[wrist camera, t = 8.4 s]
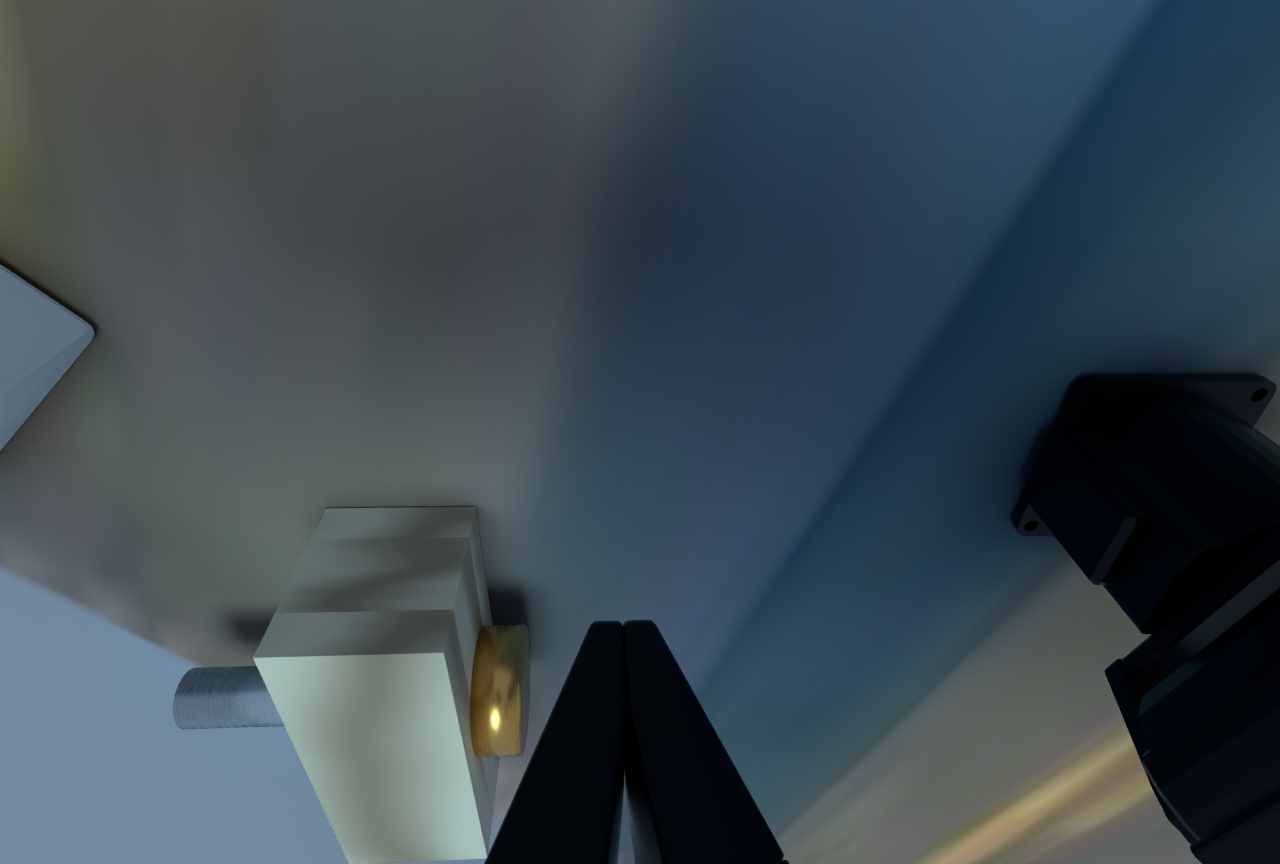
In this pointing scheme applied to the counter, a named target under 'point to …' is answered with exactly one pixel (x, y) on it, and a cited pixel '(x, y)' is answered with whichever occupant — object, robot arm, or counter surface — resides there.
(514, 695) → the pin
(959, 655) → the counter surface
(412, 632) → the block
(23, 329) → the medicine bottle
